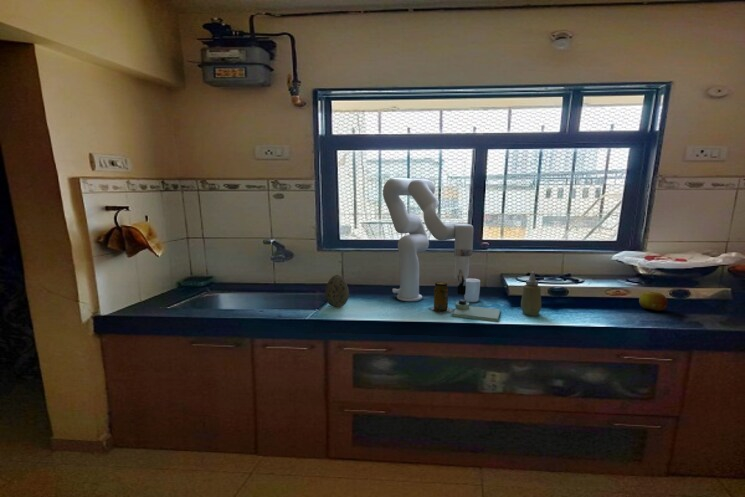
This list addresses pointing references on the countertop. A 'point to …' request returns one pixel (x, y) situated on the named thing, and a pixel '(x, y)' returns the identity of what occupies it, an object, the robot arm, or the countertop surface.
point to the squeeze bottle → (531, 297)
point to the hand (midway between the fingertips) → (461, 293)
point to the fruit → (653, 301)
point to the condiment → (441, 298)
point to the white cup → (472, 290)
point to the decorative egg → (337, 292)
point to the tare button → (462, 302)
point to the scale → (476, 312)
